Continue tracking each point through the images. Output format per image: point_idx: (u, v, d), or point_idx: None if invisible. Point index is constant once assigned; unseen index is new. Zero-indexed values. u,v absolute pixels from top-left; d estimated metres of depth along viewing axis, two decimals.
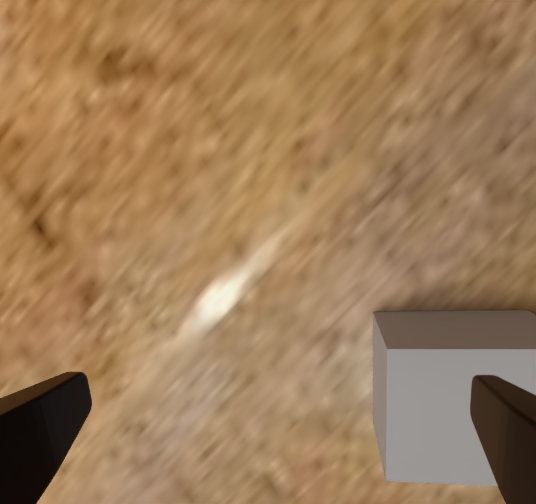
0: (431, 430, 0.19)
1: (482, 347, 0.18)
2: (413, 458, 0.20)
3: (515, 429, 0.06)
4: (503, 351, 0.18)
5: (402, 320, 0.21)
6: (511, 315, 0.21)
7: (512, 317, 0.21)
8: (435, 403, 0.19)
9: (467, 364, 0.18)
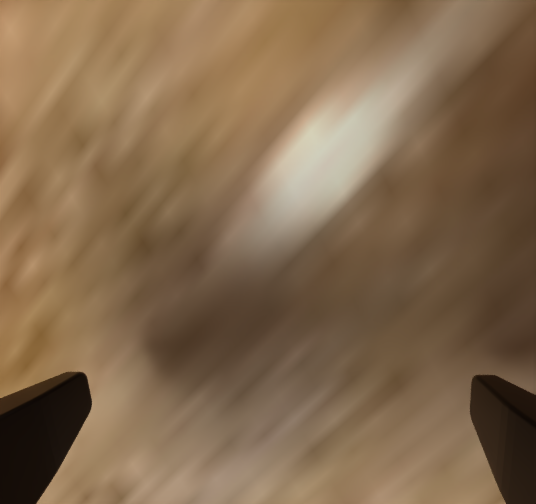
0: None
1: None
2: None
3: (515, 429, 0.06)
4: None
5: None
6: None
7: None
8: None
9: None
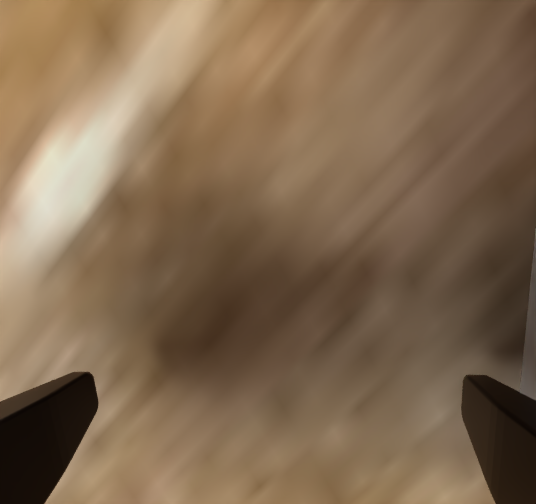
0: None
1: None
2: None
3: (504, 429, 0.06)
4: None
5: None
6: None
7: None
8: None
9: None
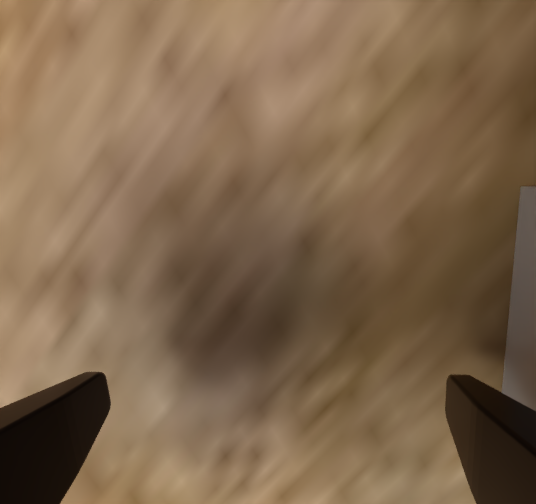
0: None
1: None
2: None
3: (483, 428, 0.06)
4: None
5: None
6: None
7: None
8: None
9: None
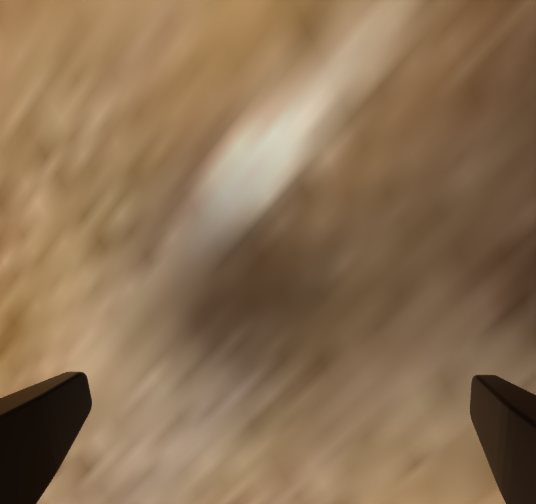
0: None
1: None
2: None
3: (515, 429, 0.06)
4: None
5: None
6: None
7: None
8: None
9: None
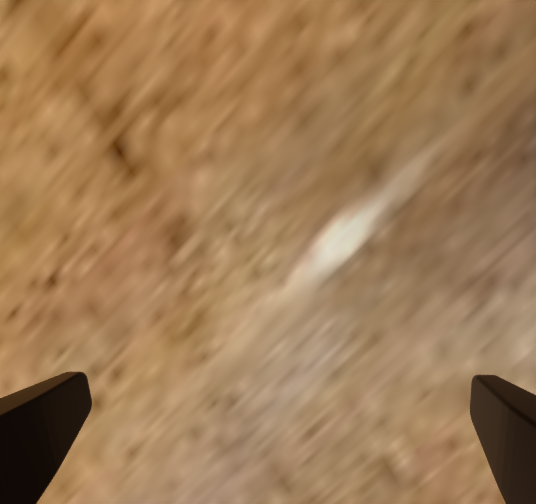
0: None
1: None
2: None
3: (515, 429, 0.06)
4: None
5: None
6: None
7: None
8: None
9: None
